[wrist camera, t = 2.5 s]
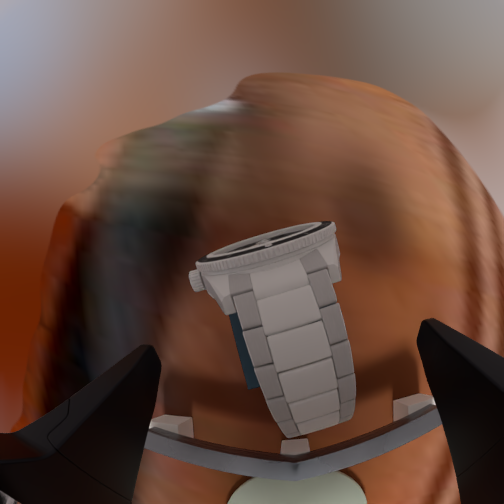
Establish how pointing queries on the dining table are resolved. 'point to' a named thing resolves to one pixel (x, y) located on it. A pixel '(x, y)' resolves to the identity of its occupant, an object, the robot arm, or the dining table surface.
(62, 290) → the dining table surface
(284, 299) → the watch
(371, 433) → the grey bent bar
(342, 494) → the mat
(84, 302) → the dining table surface
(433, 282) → the dining table surface
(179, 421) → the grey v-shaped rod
